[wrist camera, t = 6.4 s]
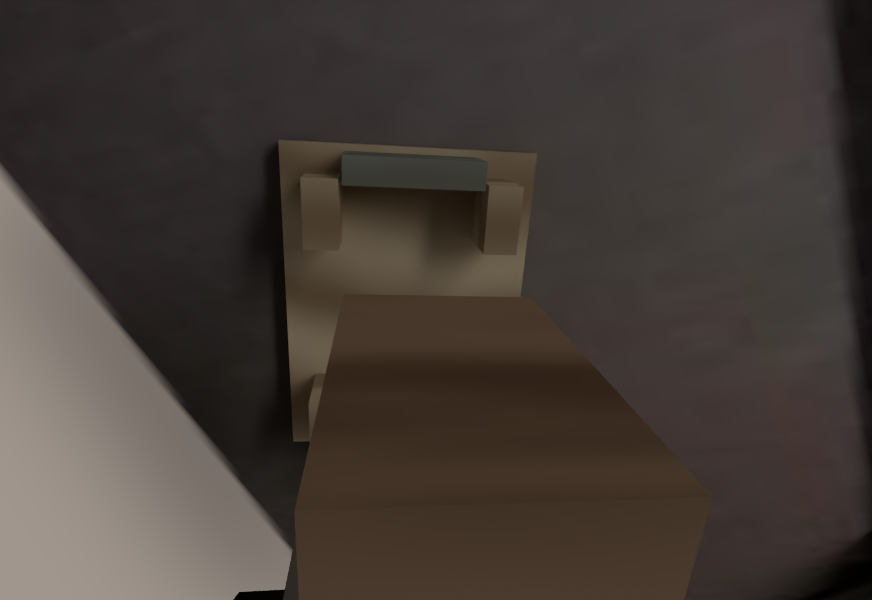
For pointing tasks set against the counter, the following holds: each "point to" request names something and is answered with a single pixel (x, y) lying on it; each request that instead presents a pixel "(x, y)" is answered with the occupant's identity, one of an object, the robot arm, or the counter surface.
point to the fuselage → (484, 465)
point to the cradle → (391, 236)
